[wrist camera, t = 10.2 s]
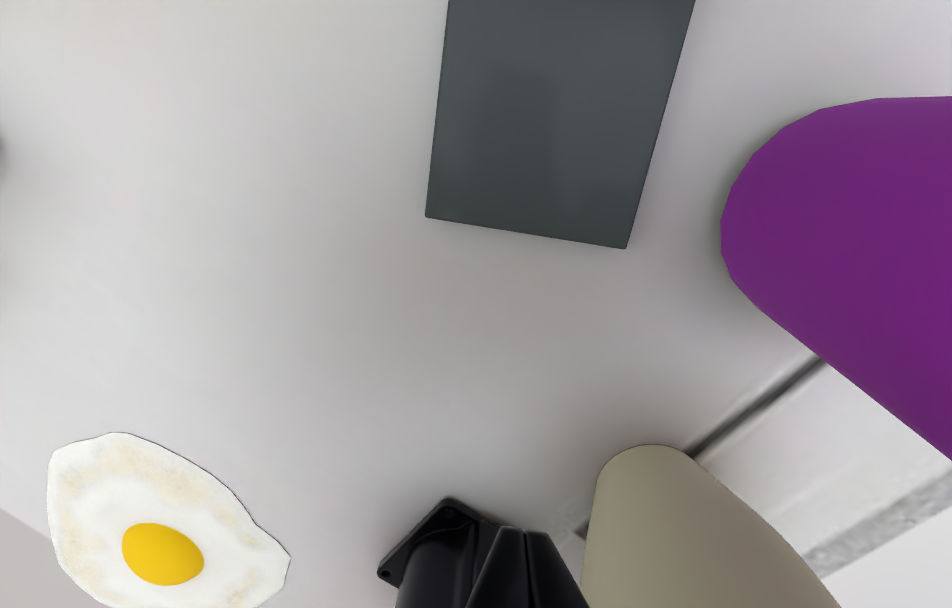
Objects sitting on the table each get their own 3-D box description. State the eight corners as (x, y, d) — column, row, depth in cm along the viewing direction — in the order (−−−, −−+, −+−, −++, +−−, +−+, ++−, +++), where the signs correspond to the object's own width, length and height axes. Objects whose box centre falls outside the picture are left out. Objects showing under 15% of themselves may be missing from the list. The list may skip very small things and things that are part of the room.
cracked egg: (274, 443, 23) (260, 463, 22) (301, 628, 28) (291, 653, 27) (3, 425, 24) (-26, 443, 22) (77, 610, 29) (57, 634, 27)
